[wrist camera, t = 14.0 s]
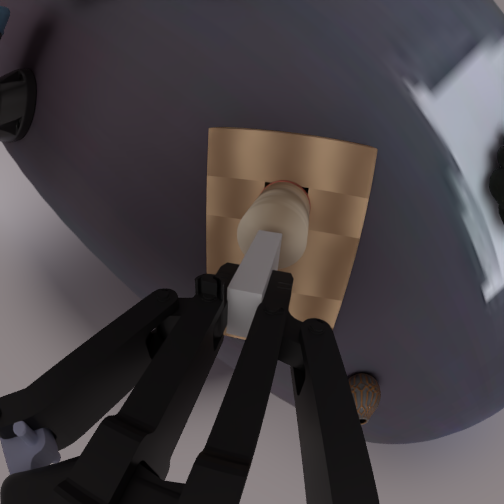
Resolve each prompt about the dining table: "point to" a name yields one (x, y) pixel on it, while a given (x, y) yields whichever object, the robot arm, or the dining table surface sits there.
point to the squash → (498, 183)
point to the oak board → (321, 201)
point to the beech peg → (278, 219)
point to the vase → (365, 395)
